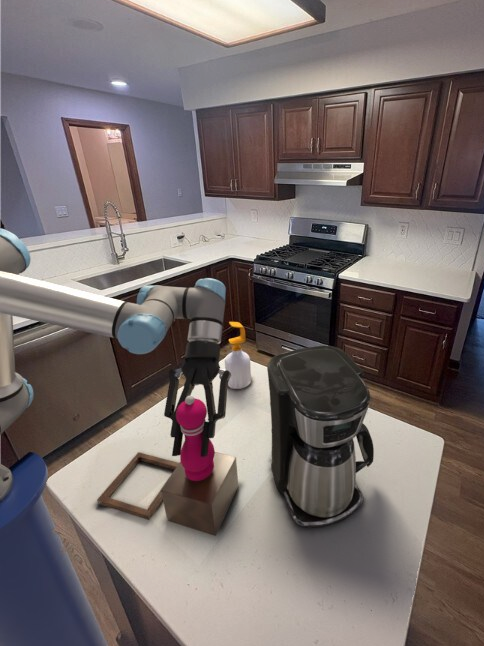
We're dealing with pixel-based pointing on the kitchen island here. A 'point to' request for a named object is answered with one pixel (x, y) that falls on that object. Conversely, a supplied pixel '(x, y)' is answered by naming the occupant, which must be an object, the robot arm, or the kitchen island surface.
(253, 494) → the kitchen island surface
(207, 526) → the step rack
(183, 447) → the pepper mill
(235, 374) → the soap bottle
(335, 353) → the coffee maker
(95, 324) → the robot arm
